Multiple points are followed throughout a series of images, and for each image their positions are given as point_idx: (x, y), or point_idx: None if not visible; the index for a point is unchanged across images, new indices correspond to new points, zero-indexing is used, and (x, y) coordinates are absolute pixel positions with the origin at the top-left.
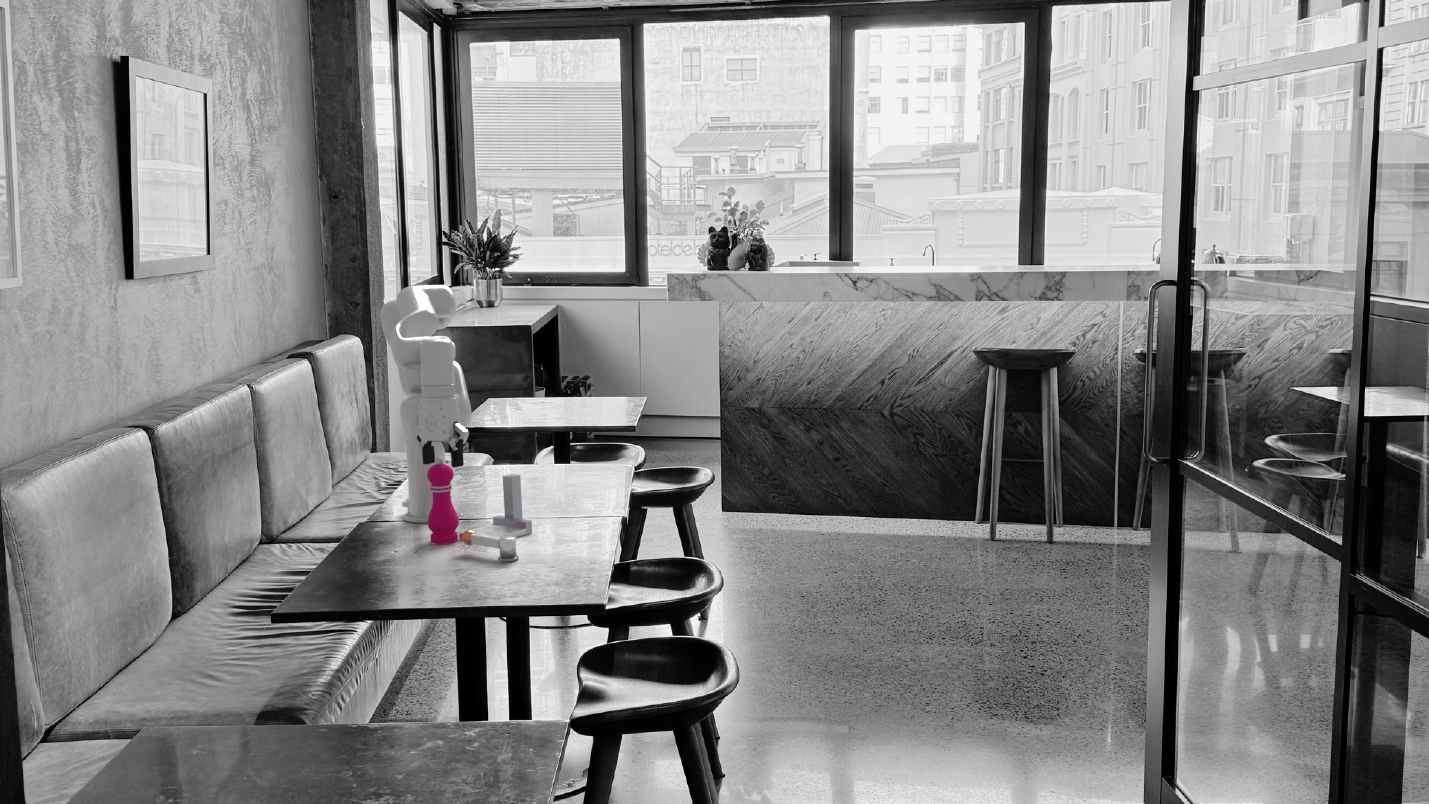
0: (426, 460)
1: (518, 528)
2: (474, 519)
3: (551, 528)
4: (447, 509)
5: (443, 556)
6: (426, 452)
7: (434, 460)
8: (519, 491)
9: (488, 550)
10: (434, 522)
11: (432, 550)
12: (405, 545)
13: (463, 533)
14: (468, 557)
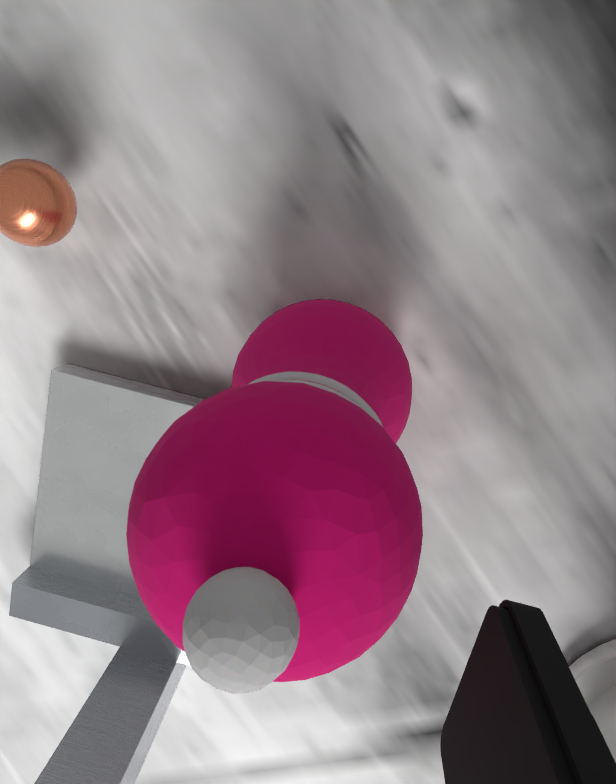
0: (497, 655)
1: (58, 557)
2: (421, 731)
3: (15, 655)
4: (247, 379)
5: (154, 104)
6: (529, 780)
7: (445, 755)
8: None
9: (26, 273)
10: (318, 305)
11: (279, 191)
12: (480, 237)
13: (33, 175)
14: (29, 129)
